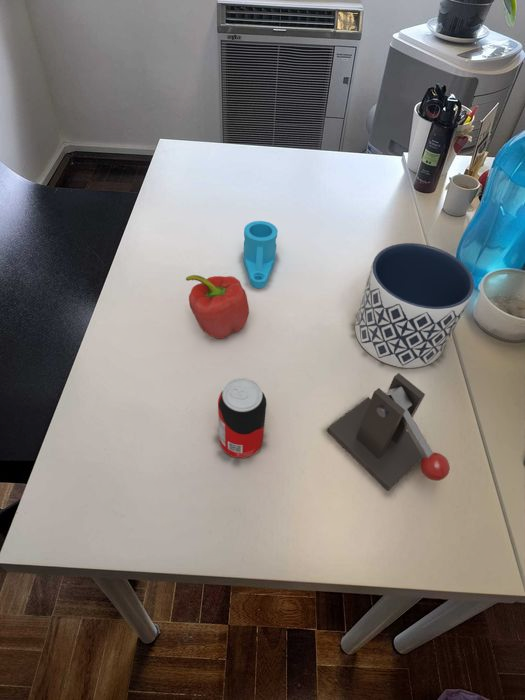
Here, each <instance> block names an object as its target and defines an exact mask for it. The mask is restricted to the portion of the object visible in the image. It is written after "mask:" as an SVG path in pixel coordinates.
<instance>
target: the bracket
mask: <svg viewBox="0 0 525 700" xmlns="http://www.w3.org/2000/svg"><path fill="white" fill-rule="evenodd" d="M243 238H244V241H243V258H242V260H243V264H244V267H245V271H246V274H247V277H248V281H249V285H250V286H251V287H252V288H254V289H262V288H265V287H266V286H267V285H268V281H269V279H270V276H271V274H272V272H273V269H274V266H275V263H276V254H277V253H276V252H277V238H278V228H277V227H276V225H275V224H273V223H271V222H269V221H265V220H264V221H263V220H254V221H252V222H249V223H247V224H246V225H245V226H244V228H243Z"/></svg>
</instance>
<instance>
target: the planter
mask: <svg viewBox="0 0 525 700" xmlns="http://www.w3.org/2000/svg"><path fill="white" fill-rule="evenodd" d="M474 289H475V281H474V277H473V275H472V273H471V271H470V270H469V268H468V267H467V266H466V265H465V264H464V263H463V261H461V260H460V259H459V258H457V257H456V256H454V255H453V254H451V253H450V252H447V251H446V250H444V249H440V248H438V247H435V246H432V245H429V244H424V243H423V244H422V243H417V242H416V243H413V242H407V243H406V242H404V243H397V244H392V245H390V246H388V247H385V248H383V249H381V250H380V251H379V252H378V253H377V254H376V255H375V257H374V259H373V261H372V264H371V267H370V270H369V274H368V277H367V280H366V284H365V286H364V291H363V294H362V297H361V302H360V304H359V308H358V311H357V315H356V320H355V324H354V332H355V336H356V338H357V340H358V343H359V344H360V345H361V346H362V348H363V349H364V350H365V351H366V352H367V353H368V354H370V356H372V357H373V358H374V359H376V360H378V361H379V362H382V363H385V364H387V365H391V366H393V367H398V368H405V369H412V368H413V369H415V368H421V367H425V366H428V365H430V364H432V363H433V362H435V361H437V360H438V359H439V357H440V356H441V355H442V354H443V351H444V349H445V348H446V346H447V344H448V342H449V340H450V338H451V336H452V334H453V333H454V330H455V328H456V327H457V325H458V322H459V321H460V319H461V317H462V315H463V313H464V311H465V309H466V307H467V305H468V303H469V301H470V299H471V298H472V295H473V293H474Z"/></svg>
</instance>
